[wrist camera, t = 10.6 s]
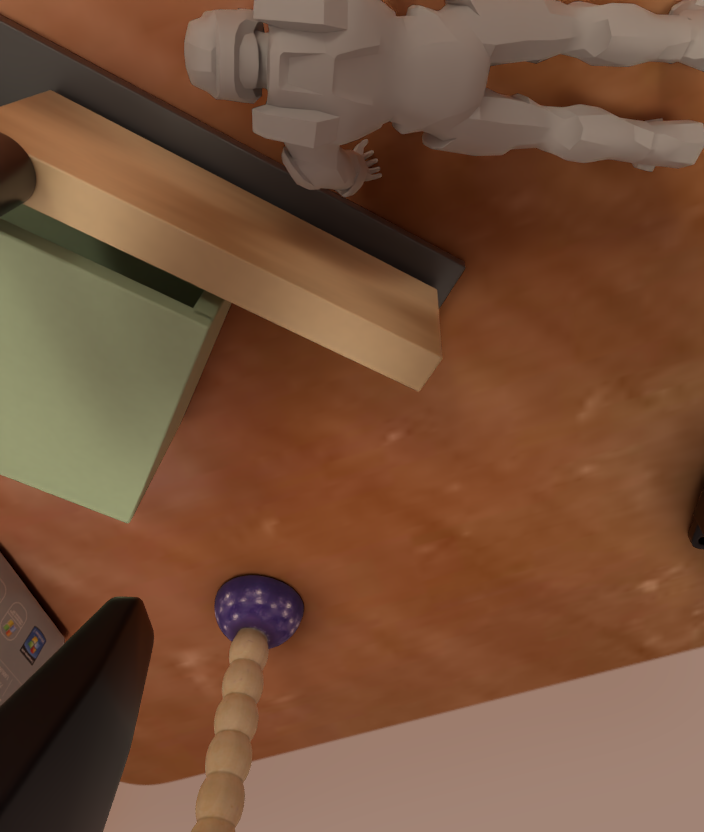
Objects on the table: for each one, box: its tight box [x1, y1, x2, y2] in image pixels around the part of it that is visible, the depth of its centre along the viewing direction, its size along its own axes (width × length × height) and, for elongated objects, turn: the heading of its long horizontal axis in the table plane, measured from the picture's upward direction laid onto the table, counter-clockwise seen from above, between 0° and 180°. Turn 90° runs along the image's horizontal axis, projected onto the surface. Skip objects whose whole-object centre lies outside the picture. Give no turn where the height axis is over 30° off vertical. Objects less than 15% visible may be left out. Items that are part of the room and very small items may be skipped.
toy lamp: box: [191, 575, 304, 832], centre depth 23 cm, size 5×5×17 cm
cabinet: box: [0, 15, 466, 523], centre depth 18 cm, size 20×10×6 cm, turn 63°
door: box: [0, 90, 443, 391], centre depth 14 cm, size 12×2×10 cm, turn 63°
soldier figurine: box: [184, 0, 704, 198], centre depth 14 cm, size 6×5×12 cm
